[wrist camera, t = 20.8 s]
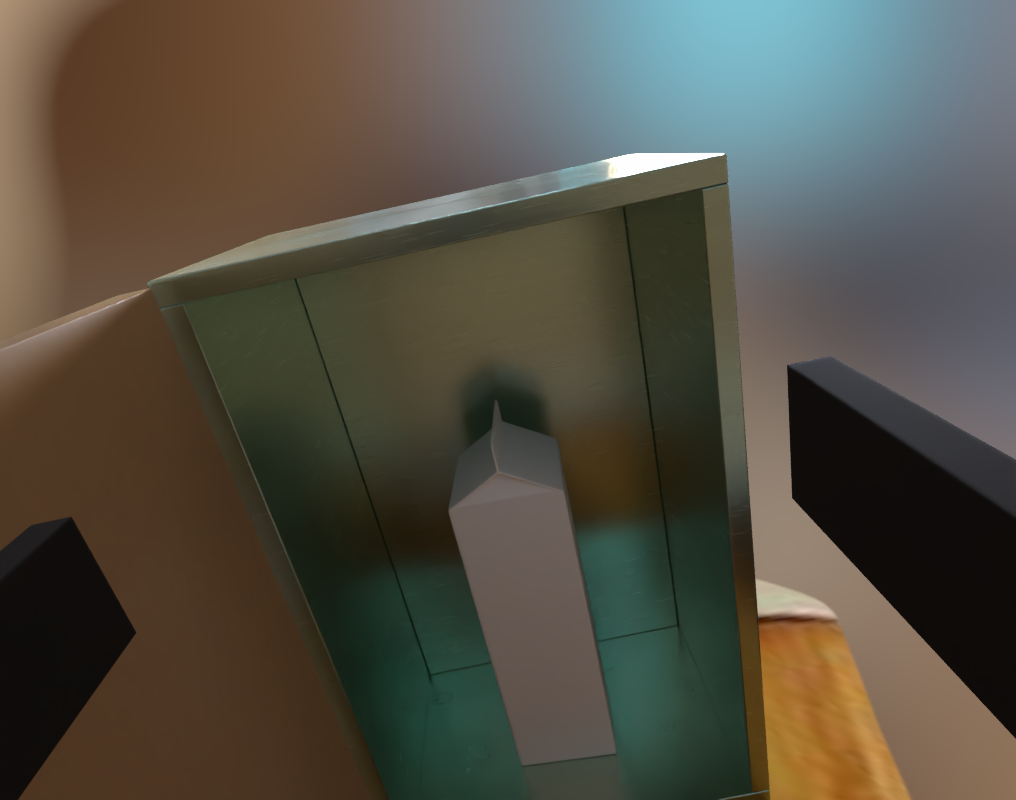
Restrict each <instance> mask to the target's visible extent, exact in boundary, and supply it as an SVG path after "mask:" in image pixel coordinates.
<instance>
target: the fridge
mask: <svg viewBox="0 0 1016 800" xmlns="http://www.w3.org/2000/svg"><path fill="white" fill-rule="evenodd" d="M727 171H728V170H727V156H726V154H636V155H635V154H630V155H626V156H621V157H617V158H613V159H609V160H603V161H599V162H594V163H590V164H585V165H581V166H577V167H572V168H568V169H563V170H559V171H554V172H550V173H545V174H541V175H536V176H532V177H527V178H523V179H518V180H514V181H509V182H505V183H501V184H496V185H492V186H487V187H483V188H479V189H474V190H469V191H465V192H460V193H456V194H451V195H447V196H442V197H438V198H434V199H430V200H425V201H420V202H416V203H411V204H407V205H402V206H398V207H393V208H389V209H384V210H380V211H376V212H371V213H367V214H362V215H358V216H353V217H349V218H344V219H339V220H335V221H331V222H326V223H322V224H317V225H313V226H308V227H304V228H299V229H295V230H290V231H286V232H282V233H277V234H273V235H269V236H266V237H263V238H261V239H258V240H255V241H253V242H250V243H247V244H245V245H242V246H240V247H237V248H235V249H232V250H229V251H227V252H224V253H221V254H219V255H216V256H214V257H211V258H209V259H206V260H203V261H201V262H198V263H196V264H193V265H190V266H188V267H185V268H183V269H180V270H177V271H175V272H172V273H170V274H167V275H164V276H162V277H159V278H157V279H154V280H151V281H149V282H147V286H148V288H149V289H151V290H152V292H153V295H154V297H155V299H156V302H157V304H158V306H159V308H160V311H161V313H162V315H163V318H164V320H165V322H166V325H167V327H168V329H169V332H170V334H171V336H172V339H173V341H174V343H175V346H176V348H177V350H178V353H179V355H180V357H181V359H182V362H183V364H184V366H185V369H186V371H187V373H188V376H189V378H190V380H191V383H192V385H193V387H194V390H195V392H196V394H197V397H198V399H199V401H200V403H201V406H202V408H203V410H204V413H205V415H206V417H207V420H208V422H209V424H210V427H211V429H212V431H213V434H214V436H215V438H216V441H217V443H218V445H219V448H220V450H221V452H222V454H223V457H224V459H225V461H226V464H227V466H228V468H229V471H230V473H231V475H232V478H233V480H234V482H235V485H236V487H237V489H238V492H239V494H240V496H241V499H242V501H243V503H244V505H245V508H246V510H247V512H248V515H249V517H250V519H251V522H252V524H253V526H254V529H255V531H256V533H257V536H258V538H259V540H260V543H261V545H262V547H263V549H264V552H265V554H266V556H267V559H268V561H269V563H270V566H271V568H272V570H273V573H274V575H275V577H276V580H277V582H278V584H279V587H280V589H281V591H282V594H283V596H284V598H285V600H286V603H287V605H288V607H289V610H290V612H291V614H292V617H293V619H294V621H295V624H296V626H297V628H298V631H299V633H300V635H301V638H302V640H303V642H304V645H305V647H306V649H307V651H308V654H309V656H310V658H311V661H312V663H313V665H314V668H315V670H316V672H317V675H318V677H319V679H320V682H321V684H322V686H323V689H324V691H325V693H326V695H327V698H328V700H329V702H330V705H331V707H332V709H333V712H334V714H335V716H336V719H337V721H338V723H339V726H340V728H341V730H342V733H343V735H344V737H345V740H346V742H347V744H348V746H349V749H350V751H351V753H352V756H353V758H354V760H355V763H356V765H357V767H358V770H359V772H360V774H361V777H362V779H363V781H364V784H365V786H366V788H367V791H368V793H369V795H370V797H371V800H770V790H769V789H770V788H769V773H768V759H767V744H766V729H765V715H764V700H763V685H762V671H761V656H760V641H759V627H758V612H757V597H756V583H755V568H754V553H753V539H752V524H751V509H750V495H749V481H748V467H747V451H746V436H745V421H744V407H743V392H742V378H741V363H740V349H739V334H738V319H737V305H736V290H735V275H734V260H733V246H732V231H731V217H730V203H729V188H728V184H727V183H728V172H727ZM495 400H497V402H498V406H499V410H500V414H501V418H502V421H503V422H506V423H509V424H512V425H516V426H519V427H522V428H525V429H528V430H532V431H535V432H538V433H541V434H544V435H548V436H551V437H554V438H556V439H557V441H558V445H559V450H560V455H561V460H562V465H563V470H564V475H565V480H566V485H567V490H568V495H569V500H570V505H571V510H572V515H573V520H574V525H575V530H576V535H577V540H578V545H579V550H580V555H581V560H582V565H583V570H584V575H585V581H586V586H587V591H588V596H589V601H590V606H591V611H592V616H593V621H594V626H595V631H596V636H597V641H598V646H599V651H600V656H601V661H602V666H603V671H604V676H605V682H606V688H607V695H608V701H609V707H610V713H611V720H612V726H613V732H614V738H615V745H616V753H615V754H609V755H601V756H594V757H586V758H578V759H571V760H563V761H555V762H547V763H540V764H532V765H524V766H523V765H521V762H520V759H519V756H518V752H517V749H516V745H515V742H514V738H513V735H512V731H511V728H510V724H509V721H508V717H507V714H506V711H505V707H504V704H503V700H502V697H501V693H500V690H499V686H498V683H497V679H496V676H495V672H494V669H493V665H492V662H491V659H490V655H489V652H488V648H487V645H486V641H485V638H484V634H483V631H482V627H481V624H480V620H479V617H478V613H477V610H476V607H475V603H474V600H473V596H472V593H471V589H470V586H469V582H468V579H467V575H466V572H465V568H464V565H463V561H462V558H461V555H460V551H459V548H458V544H457V541H456V537H455V534H454V530H453V527H452V523H451V520H450V516H449V513H448V508H449V503H450V498H451V493H452V488H453V483H454V478H455V473H456V467H457V462H458V458H459V456H460V455H461V454H462V453H463V452H464V451H465V450H467V449H468V448H469V447H470V446H471V445H473V444H474V443H475V442H476V441H478V440H479V439H480V438H481V437H482V436H484V435H485V434H486V433H487V432H488V431H490V430H491V429H492V422H493V412H494V402H495Z"/></svg>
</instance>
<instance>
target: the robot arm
mask: <svg viewBox="0 0 1016 800" xmlns="http://www.w3.org/2000/svg"><path fill="white" fill-rule="evenodd" d="M787 373H788V398H789V426H790V451H791V478H792V498H793V499H794V500H795V502H796V503H797V504H798V505H799V506H800V507H801V508H802V509H803V510H804V511H805V512H806V513H807V514H808V516H809V517H810V518H811V519H812V520H813V521H814V522H815V523H816V524H817V525H818V526H819V527H820V528H821V530H822V531H823V532H824V533H825V534H826V535H827V536H828V537H829V538H830V539H831V540H832V541H833V542H834V544H835V545H836V546H837V547H838V548H839V549H840V550H841V551H842V552H843V553H844V554H845V555H846V556H847V558H849V560H850V561H851V562H852V563H853V564H854V565H855V566H856V567H857V568H858V569H859V570H860V572H862V574H863V575H864V576H865V577H866V578H867V579H868V580H869V581H870V582H871V583H872V584H873V585H874V587H875V588H876V589H877V590H878V591H879V592H880V593H881V594H882V595H883V596H884V597H885V598H886V600H887V601H889V603H890V604H891V605H892V606H893V607H894V608H895V609H896V610H897V611H898V612H899V613H900V615H901V616H902V617H903V618H904V619H905V620H906V621H907V622H908V623H909V624H910V625H911V626H912V627H913V629H914V630H915V631H916V632H917V633H918V634H919V635H920V636H921V637H922V638H923V639H924V640H925V641H926V643H927V644H928V645H929V646H930V647H931V648H932V649H933V650H934V651H935V652H936V653H937V654H938V655H939V656H940V658H941V659H942V660H943V661H944V662H945V663H946V664H947V665H948V666H949V667H950V668H951V669H952V671H953V672H954V673H955V674H956V675H957V676H958V677H959V678H960V679H961V680H962V681H963V682H964V683H965V685H966V686H967V687H968V688H969V689H970V690H971V691H972V692H973V693H974V694H975V695H976V696H977V697H978V699H979V700H980V701H981V702H982V703H983V704H984V705H985V706H986V707H987V708H988V709H989V710H990V711H991V713H993V715H994V716H995V717H996V718H997V719H998V720H999V721H1000V722H1001V723H1002V724H1003V725H1004V727H1005V728H1006V729H1007V730H1008V731H1009V732H1010V733H1011V734H1012V735H1013V736H1014V737H1015V738H1016V460H1015V459H1013V458H1012V457H1010V456H1008V455H1006V454H1004V453H1003V452H1001V451H999V450H997V449H996V448H994V447H992V446H990V445H988V444H987V443H985V442H983V441H981V440H979V439H978V438H976V437H974V436H972V435H970V434H969V433H967V432H965V431H963V430H962V429H960V428H958V427H956V426H954V425H953V424H951V423H949V422H947V421H946V420H944V419H942V418H940V417H939V416H937V415H935V414H933V413H931V412H929V411H928V410H926V409H924V408H923V407H921V406H919V405H917V404H915V403H914V402H912V401H910V400H908V399H906V398H905V397H903V396H901V395H899V394H898V393H896V392H894V391H892V390H890V389H889V388H887V387H885V386H883V385H882V384H880V383H878V382H876V381H874V380H873V379H871V378H869V377H867V376H865V375H864V374H862V373H860V372H858V371H856V370H855V369H853V368H851V367H849V366H848V365H846V364H844V363H842V362H840V361H839V360H837V359H835V358H833V357H832V356H828V357H823V358H819V359H813V360H809V361H804V362H799V363H795V364H790V365H787ZM135 634H136V631H135V629H134V627H133V625H132V624H131V622H130V620H129V618H128V616H127V615H126V613H125V611H124V609H123V608H122V606H121V604H120V602H119V600H118V599H117V597H116V595H115V593H114V591H113V590H112V588H111V586H110V584H109V583H108V581H107V579H106V577H105V575H104V574H103V572H102V570H101V568H100V566H99V565H98V563H97V561H96V559H95V558H94V556H93V554H92V552H91V550H90V549H89V547H88V545H87V543H86V542H85V540H84V538H83V536H82V534H81V533H80V531H79V529H78V527H77V525H76V524H75V522H74V520H73V518H72V517H67V518H62V519H58V520H53V521H48V522H44V523H39V524H34V525H31V526H30V527H28V528H27V529H26V530H25V531H24V532H22V533H21V534H20V535H19V536H18V537H16V538H15V539H14V540H13V541H12V542H10V543H9V544H8V545H7V546H6V547H4V548H3V549H2V550H1V551H0V800H18V799H19V798H20V796H21V795H22V794H23V792H24V791H25V789H26V788H27V786H28V785H29V784H30V782H31V781H32V779H33V778H34V777H35V775H36V774H37V772H38V771H39V770H40V768H41V767H42V765H43V764H44V762H45V761H46V760H47V758H48V757H49V755H50V754H51V753H52V751H53V750H54V748H55V747H56V746H57V744H58V743H59V741H60V740H61V739H62V737H63V736H64V734H65V733H66V731H67V730H68V729H69V727H70V726H71V724H72V723H73V722H74V720H75V719H76V717H77V716H78V715H79V713H80V712H81V710H82V709H83V707H84V706H85V705H86V703H87V702H88V700H89V699H90V698H91V696H92V695H93V693H94V692H95V691H96V689H97V688H98V686H99V685H100V684H101V682H102V681H103V679H104V678H105V676H106V675H107V674H108V672H109V671H110V669H111V668H112V667H113V665H114V664H115V662H116V661H117V660H118V658H119V657H120V655H121V654H122V652H123V651H124V650H125V648H126V647H127V645H128V644H129V643H130V641H131V640H132V638H133V637H134V636H135Z"/></svg>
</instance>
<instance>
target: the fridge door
mask: <svg viewBox="0 0 1016 800" xmlns="http://www.w3.org/2000/svg"><path fill="white" fill-rule="evenodd" d="M67 517H72V518H73V520H74V522H75V524H76V525H77V527H78V529H79V531H80V533H81V534H82V536H83V538H84V540H85V542H86V543H87V545H88V547H89V549H90V550H91V552H92V554H93V556H94V558H95V559H96V561H97V563H98V565H99V566H100V568H101V570H102V572H103V574H104V575H105V577H106V579H107V581H108V583H109V584H110V586H111V588H112V590H113V591H114V593H115V595H116V597H117V599H118V600H119V602H120V604H121V606H122V608H123V609H124V611H125V613H126V615H127V616H128V618H129V620H130V622H131V624H132V625H133V627H134V629H135V631H136V634H135V636H134V637H133V638H132V640H131V641H130V643H129V644H128V645H127V647H126V648H125V650H124V651H123V652H122V654H121V655H120V657H119V658H118V660H117V661H116V662H115V664H114V665H113V667H112V668H111V669H110V671H109V672H108V674H107V675H106V676H105V678H104V679H103V681H102V682H101V684H100V685H99V686H98V688H97V689H96V691H95V692H94V693H93V695H92V696H91V698H90V699H89V700H88V702H87V703H86V705H85V706H84V707H83V709H82V710H81V712H80V713H79V715H78V716H77V717H76V719H75V720H74V722H73V723H72V724H71V726H70V727H69V729H68V730H67V731H66V733H65V734H64V736H63V737H62V739H61V740H60V741H59V743H58V744H57V746H56V747H55V748H54V750H53V751H52V753H51V754H50V755H49V757H48V758H47V760H46V761H45V762H44V764H43V765H42V767H41V768H40V770H39V771H38V772H37V774H36V775H35V777H34V778H33V779H32V781H31V782H30V784H29V785H28V786H27V788H26V789H25V791H24V792H23V794H22V795H21V796H20V798H19V799H18V800H371V797H370V795H369V793H368V791H367V788H366V786H365V784H364V781H363V779H362V777H361V774H360V772H359V770H358V767H357V765H356V763H355V760H354V758H353V756H352V753H351V751H350V749H349V746H348V744H347V742H346V740H345V737H344V735H343V733H342V730H341V728H340V726H339V723H338V721H337V719H336V716H335V714H334V712H333V709H332V707H331V705H330V702H329V700H328V698H327V695H326V693H325V691H324V689H323V686H322V684H321V682H320V679H319V677H318V675H317V672H316V670H315V668H314V665H313V663H312V661H311V658H310V656H309V654H308V651H307V649H306V647H305V645H304V642H303V640H302V638H301V635H300V633H299V631H298V628H297V626H296V624H295V621H294V619H293V617H292V614H291V612H290V610H289V607H288V605H287V603H286V600H285V598H284V596H283V594H282V591H281V589H280V587H279V584H278V582H277V580H276V577H275V575H274V573H273V570H272V568H271V566H270V563H269V561H268V559H267V556H266V554H265V552H264V549H263V547H262V545H261V543H260V540H259V538H258V536H257V533H256V531H255V529H254V526H253V524H252V522H251V519H250V517H249V515H248V512H247V510H246V508H245V505H244V503H243V501H242V499H241V496H240V494H239V492H238V489H237V487H236V485H235V482H234V480H233V478H232V475H231V473H230V471H229V468H228V466H227V464H226V461H225V459H224V457H223V454H222V452H221V450H220V448H219V445H218V443H217V441H216V438H215V436H214V434H213V431H212V429H211V427H210V424H209V422H208V420H207V417H206V415H205V413H204V410H203V408H202V406H201V403H200V401H199V399H198V397H197V394H196V392H195V390H194V387H193V385H192V383H191V380H190V378H189V376H188V373H187V371H186V369H185V366H184V364H183V362H182V359H181V357H180V355H179V353H178V350H177V348H176V346H175V343H174V341H173V339H172V336H171V334H170V332H169V329H168V327H167V325H166V322H165V320H164V318H163V315H162V313H161V311H160V308H159V306H158V304H157V302H156V299H155V297H154V295H153V292H152V290H151V289H145V290H141V291H136V292H131V293H127V294H122V295H118V296H116V297H113V298H110V299H108V300H105V301H103V302H100V303H98V304H95V305H92V306H90V307H87V308H85V309H82V310H79V311H77V312H74V313H72V314H69V315H67V316H64V317H62V318H59V319H56V320H54V321H51V322H48V323H46V324H43V325H41V326H38V327H35V328H33V329H30V330H28V331H26V332H23V333H20V334H18V335H15V336H12V337H10V338H7V339H5V340H2V341H0V551H1V550H2V549H3V548H4V547H6V546H7V545H8V544H9V543H10V542H12V541H13V540H14V539H15V538H16V537H18V536H19V535H20V534H21V533H22V532H24V531H25V530H26V529H27V528H28V527H30V526H31V525H34V524H39V523H44V522H48V521H53V520H58V519H62V518H67Z"/></svg>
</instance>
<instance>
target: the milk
mask: <svg viewBox="0 0 1016 800" xmlns="http://www.w3.org/2000/svg"><path fill="white" fill-rule="evenodd" d="M448 513H449V516H450V520H451V523H452V527H453V530H454V534H455V537H456V541H457V544H458V548H459V551H460V555H461V558H462V561H463V565H464V568H465V572H466V575H467V579H468V582H469V586H470V589H471V593H472V596H473V600H474V603H475V607H476V610H477V613H478V617H479V620H480V624H481V627H482V631H483V634H484V638H485V641H486V645H487V648H488V652H489V655H490V659H491V662H492V665H493V669H494V672H495V676H496V679H497V683H498V686H499V690H500V693H501V697H502V700H503V704H504V707H505V711H506V714H507V717H508V721H509V724H510V728H511V731H512V735H513V738H514V742H515V745H516V749H517V752H518V756H519V759H520V762H521V765H523V766H524V765H532V764H540V763H547V762H555V761H563V760H571V759H578V758H586V757H594V756H601V755H609V754H615V753H616V745H615V738H614V732H613V726H612V720H611V713H610V707H609V701H608V695H607V688H606V682H605V676H604V671H603V666H602V661H601V656H600V651H599V646H598V641H597V636H596V631H595V626H594V621H593V616H592V611H591V606H590V601H589V596H588V591H587V586H586V581H585V575H584V570H583V565H582V560H581V555H580V550H579V545H578V540H577V535H576V530H575V525H574V520H573V515H572V510H571V505H570V500H569V495H568V490H567V485H566V480H565V475H564V470H563V465H562V460H561V455H560V450H559V445H558V441H557V439H556V438H554V437H551V436H548V435H544V434H541V433H538V432H535V431H532V430H528V429H525V428H522V427H519V426H516V425H512V424H509V423H506V422H503V421H502V418H501V414H500V410H499V406H498V402H497V400H495V402H494V412H493V422H492V429H491V430H490V431H488V432H487V433H486V434H485V435H484V436H482V437H481V438H480V439H479V440H478V441H476V442H475V443H474V444H473V445H471V446H470V447H469V448H468V449H467V450H465V451H464V452H463V453H462V454H461V455H460V456H459V458H458V462H457V467H456V473H455V478H454V483H453V488H452V493H451V498H450V503H449V508H448Z"/></svg>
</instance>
